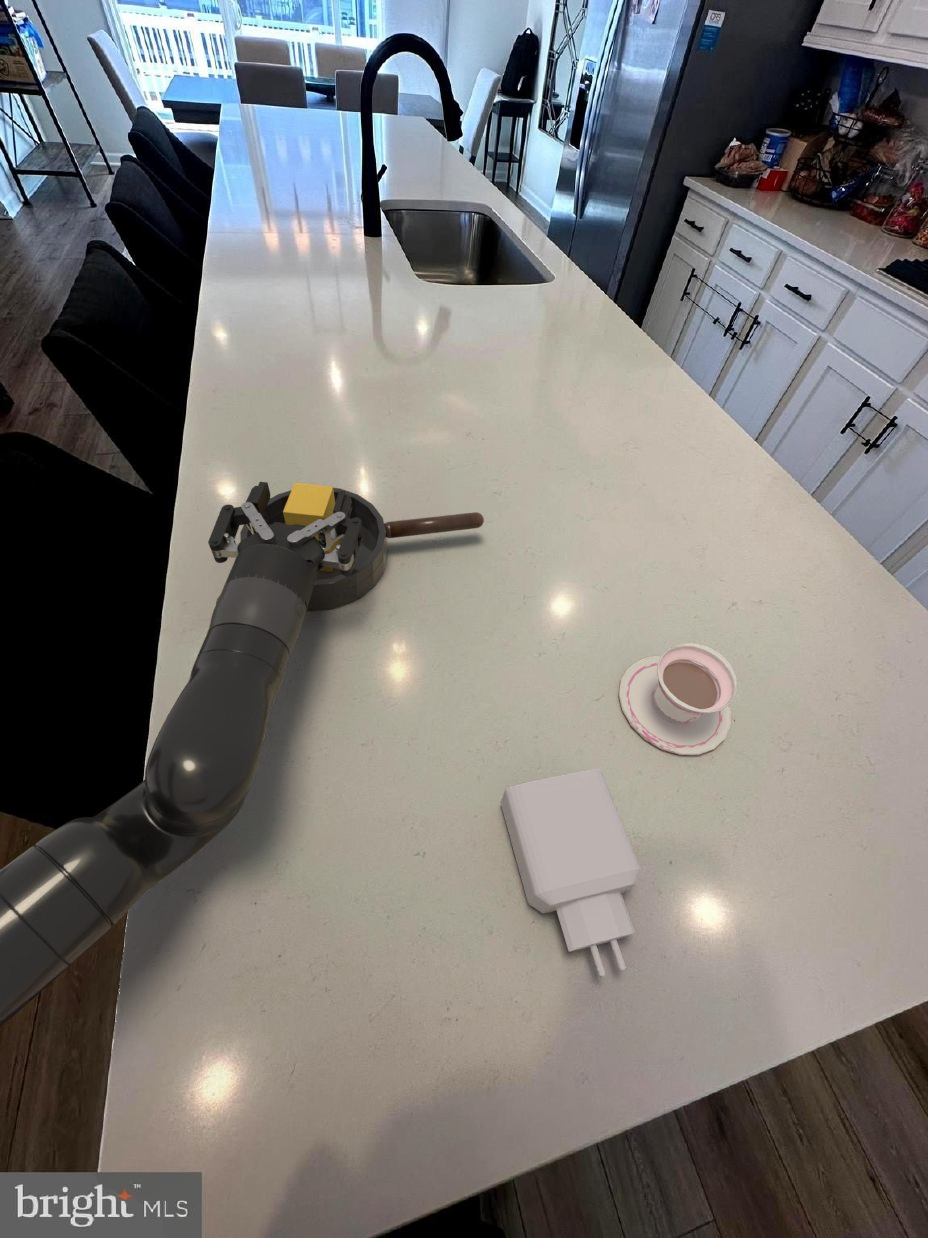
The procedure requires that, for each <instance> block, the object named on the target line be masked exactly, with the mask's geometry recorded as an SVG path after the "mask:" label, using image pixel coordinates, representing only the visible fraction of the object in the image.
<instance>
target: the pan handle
mask: <svg viewBox="0 0 928 1238" xmlns="http://www.w3.org/2000/svg"><path fill="white" fill-rule="evenodd" d="M484 522H485V517H484V516H483V514H481V513H480V512H477V511H476V512H475V511H474V512H466V513H456V514H448V515H438V516H437V515H436V516H429V517H419V518H411V519H410V518H409V519H402V520H400V519H399V520H392V521H386V522H384V525H385V529H386V539H395V538H405V537H411V536H413V537H414V536H422V535H430V534H439V533H448V532H457V531H464V530H465V531H466V530H473V529H479V528H481V527H482V526H483V525H484Z"/></svg>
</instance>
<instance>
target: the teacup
mask: <svg viewBox="0 0 928 1238" xmlns="http://www.w3.org/2000/svg"><path fill="white" fill-rule="evenodd" d="M737 681H738V680H737V677H736V672H735V671H734V669H733V667H732V665H731V663H730V662H729V661H728V660H727V658H725V657H724V656H723V655H722V654H721V653H720V652H718V651H717V650H715V649H713V648H711V647H710V646H707V645H703V644H700V643H695V642H686V643H680V644H676V645H673V646H671V647H670V648H668V649H667V650H665V652H663V653H662V654H661V655H652V656H648V657H645V658H642V659H639V660H637V661H636V662H634V663H633V664H631V665H630V666H629V667H627V669H626V671H625V672H624V674H623V676H622V678H621V679H620V682H619V690H618V698H619V702H620V707H621V711H622V713H623V715H624V716H625V718H626V720H627V721H628V722H629V725H630V726H631V728H632V729H633V730H634V731H635V732H637V734H639V735H640V737H641V738H642V739H644V740H645V741H646V742H648V743H650V744H652V745H653V746H654V747H656V748H658V749H660V750H662V751H665V752H669V753H671V754H675V755H679V756H699V755H702V754H706V753H708V752H711V751H714V750H715V749H716V748H717V747H718V746H719V745H720V744H721V743H722V742H723V741H725V740H726V738H727V736H728V733H729V731H730V728H731V726H732V725H731V724H732V723H731V722H732V721H731V708H730V705H731V703H732V702H733V700H734V699H735V697H736V694H737V689H738V682H737Z"/></svg>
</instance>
